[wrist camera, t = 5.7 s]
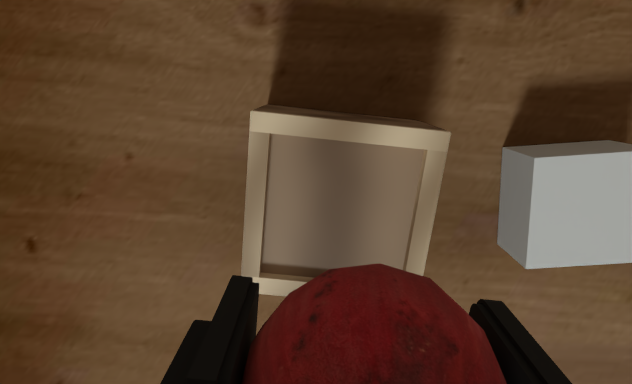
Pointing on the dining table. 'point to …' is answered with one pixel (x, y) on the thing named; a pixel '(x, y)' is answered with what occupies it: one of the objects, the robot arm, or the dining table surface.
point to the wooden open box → (337, 194)
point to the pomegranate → (370, 334)
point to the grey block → (566, 204)
